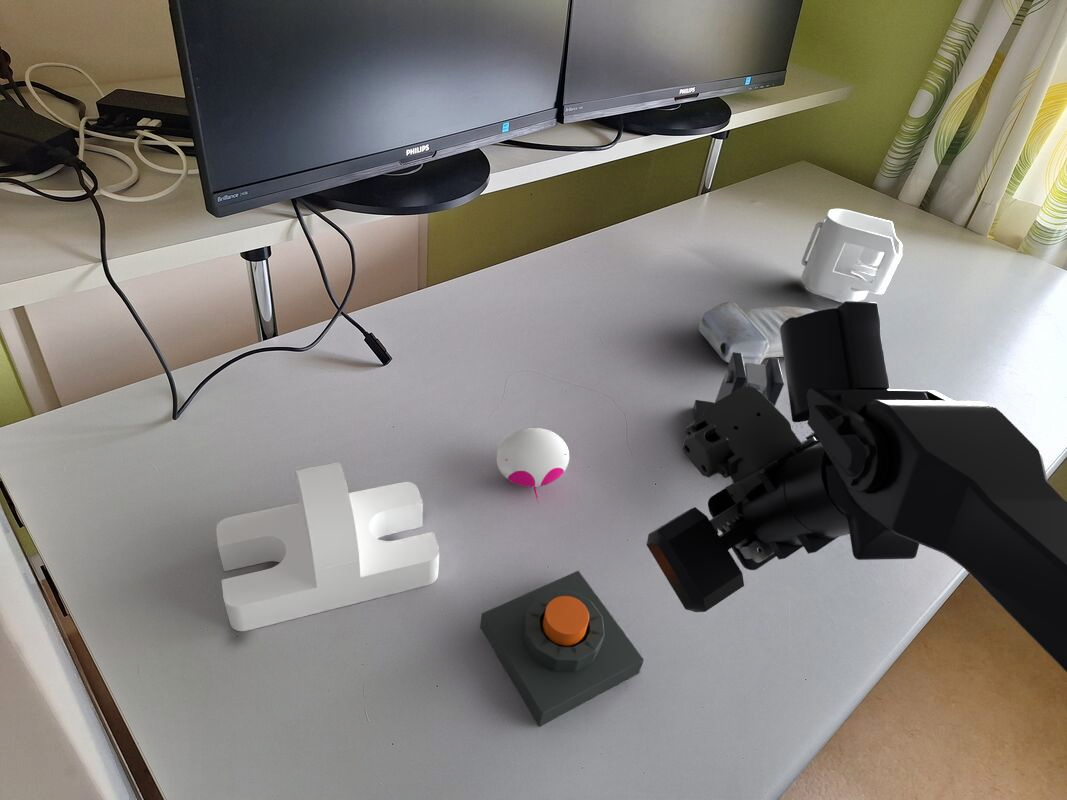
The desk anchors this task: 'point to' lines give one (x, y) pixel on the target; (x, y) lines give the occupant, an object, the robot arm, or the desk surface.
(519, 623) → the button box
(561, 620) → the button
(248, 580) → the white slotted mount
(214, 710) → the desk surface
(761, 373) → the lever
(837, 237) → the white plastic holder
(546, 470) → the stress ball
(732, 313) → the handheld device
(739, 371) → the bracket
